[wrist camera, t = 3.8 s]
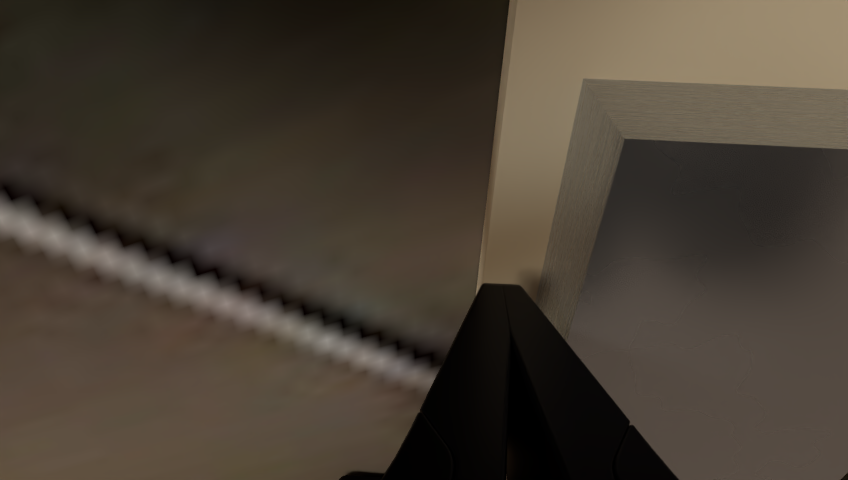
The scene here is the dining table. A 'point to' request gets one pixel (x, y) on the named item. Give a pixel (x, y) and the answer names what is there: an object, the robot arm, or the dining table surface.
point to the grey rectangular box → (710, 271)
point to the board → (627, 60)
